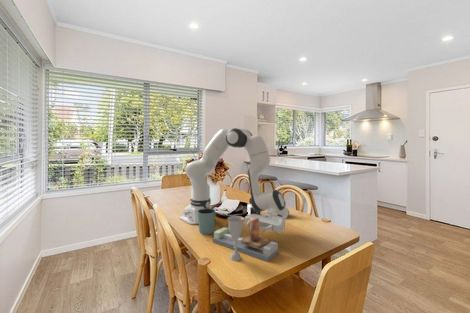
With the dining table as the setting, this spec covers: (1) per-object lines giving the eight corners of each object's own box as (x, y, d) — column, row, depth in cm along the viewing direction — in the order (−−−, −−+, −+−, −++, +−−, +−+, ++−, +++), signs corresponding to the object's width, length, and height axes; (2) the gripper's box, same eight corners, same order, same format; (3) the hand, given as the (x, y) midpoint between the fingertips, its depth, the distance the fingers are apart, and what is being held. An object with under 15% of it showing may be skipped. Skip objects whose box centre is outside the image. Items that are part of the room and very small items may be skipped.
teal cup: (212, 235, 128) (212, 214, 127) (194, 234, 130) (194, 212, 129) (217, 228, 138) (217, 208, 137) (201, 227, 140) (200, 207, 139)
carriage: (240, 243, 111) (240, 219, 110) (250, 237, 118) (250, 214, 117) (259, 249, 105) (259, 224, 104) (267, 242, 112) (268, 219, 111)
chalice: (243, 253, 109) (243, 215, 107) (244, 261, 102) (244, 221, 100) (227, 254, 108) (227, 215, 107) (227, 261, 102) (227, 221, 100)
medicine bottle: (250, 217, 157) (250, 200, 156) (247, 214, 164) (247, 197, 163) (260, 216, 159) (260, 199, 158) (256, 213, 166) (256, 196, 165)
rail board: (212, 241, 121) (212, 232, 120) (225, 235, 129) (225, 226, 128) (267, 261, 102) (267, 250, 101) (278, 252, 110) (278, 242, 109)
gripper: (253, 209, 129) (238, 216, 118) (288, 217, 116) (275, 225, 105) (252, 220, 129) (238, 228, 118) (287, 229, 117) (274, 239, 106)
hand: (255, 227), depth 112 cm, fingers open, 8 cm apart
